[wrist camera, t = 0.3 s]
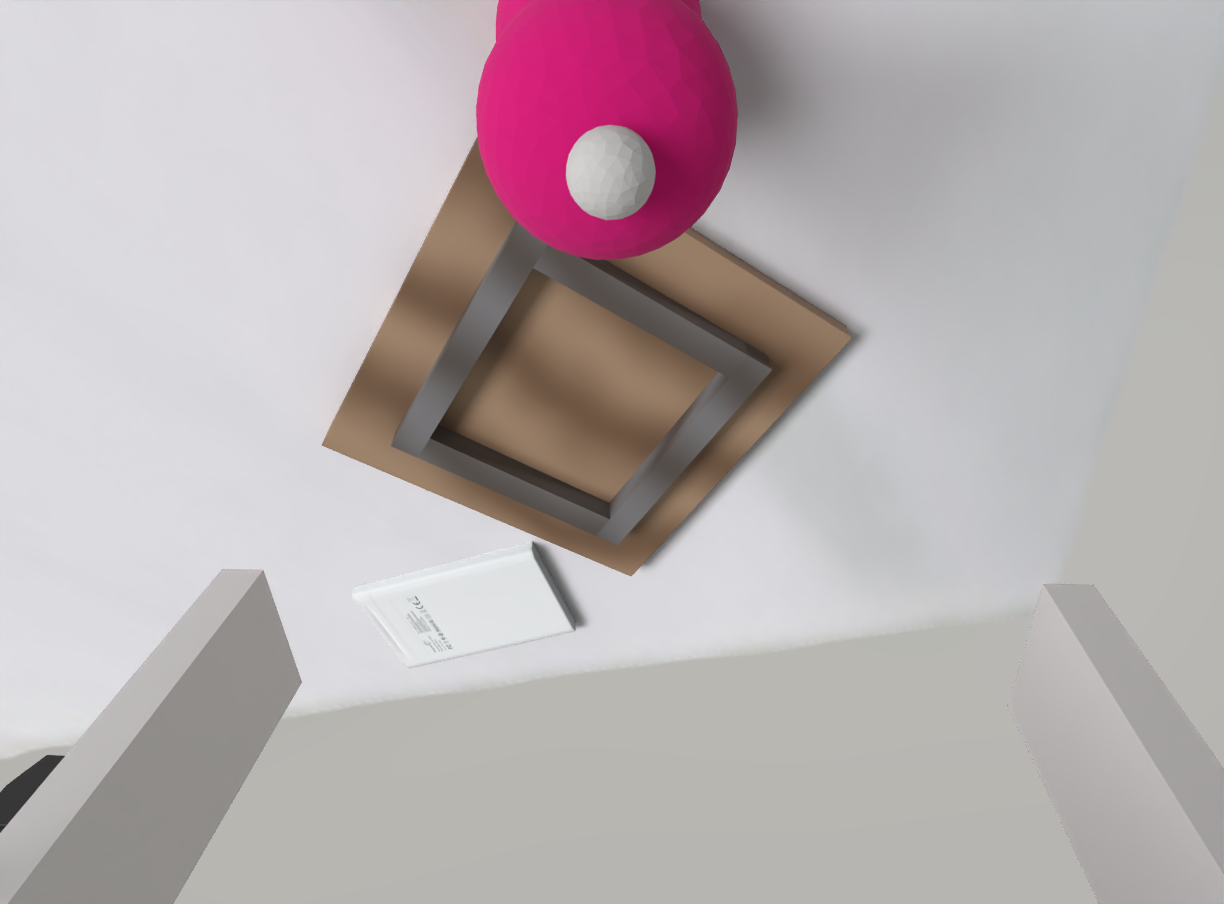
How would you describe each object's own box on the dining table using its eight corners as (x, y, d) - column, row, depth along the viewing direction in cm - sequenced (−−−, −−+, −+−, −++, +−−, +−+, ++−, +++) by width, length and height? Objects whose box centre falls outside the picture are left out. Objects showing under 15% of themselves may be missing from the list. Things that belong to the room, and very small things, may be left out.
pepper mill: (546, 138, 33) (511, 393, 17) (475, -51, 29) (341, 57, 13) (708, 78, 32) (831, 294, 16) (659, -129, 27) (760, -114, 12)
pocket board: (494, 103, 32) (488, 120, 30) (845, 326, 39) (860, 352, 37) (327, 432, 42) (314, 461, 40) (630, 562, 49) (632, 593, 47)
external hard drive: (575, 615, 53) (412, 653, 55) (532, 533, 48) (355, 579, 50) (575, 633, 52) (408, 672, 54) (531, 552, 47) (349, 598, 49)
